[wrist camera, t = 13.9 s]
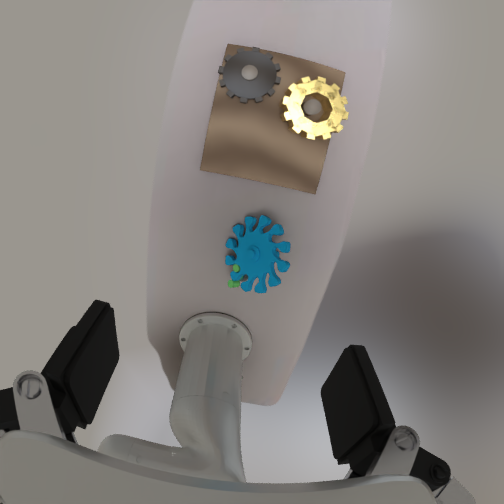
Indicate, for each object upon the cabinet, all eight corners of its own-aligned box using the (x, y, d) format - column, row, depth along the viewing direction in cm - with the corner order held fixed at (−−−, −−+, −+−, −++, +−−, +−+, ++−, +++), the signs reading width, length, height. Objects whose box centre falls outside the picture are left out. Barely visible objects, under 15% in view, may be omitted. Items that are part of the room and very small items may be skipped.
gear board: (313, 192, 36) (321, 201, 32) (201, 168, 35) (194, 174, 30) (342, 74, 29) (354, 67, 25) (228, 46, 28) (224, 35, 23)
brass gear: (345, 129, 31) (356, 130, 27) (291, 145, 32) (296, 147, 29) (326, 76, 28) (335, 70, 25) (270, 91, 29) (273, 86, 26)
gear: (254, 197, 35) (300, 258, 30) (279, 205, 39) (322, 258, 35) (207, 255, 40) (241, 314, 35) (234, 255, 44) (268, 307, 40)
